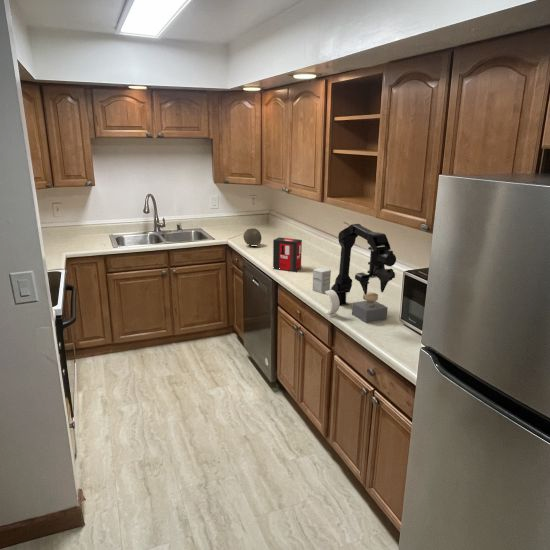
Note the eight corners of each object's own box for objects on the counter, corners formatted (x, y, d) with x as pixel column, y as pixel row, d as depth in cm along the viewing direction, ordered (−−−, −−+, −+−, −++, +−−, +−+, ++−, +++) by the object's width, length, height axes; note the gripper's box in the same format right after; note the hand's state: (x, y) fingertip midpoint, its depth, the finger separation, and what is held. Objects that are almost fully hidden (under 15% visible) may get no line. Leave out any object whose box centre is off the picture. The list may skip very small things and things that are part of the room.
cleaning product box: (273, 269, 299) (273, 239, 293) (278, 266, 306) (278, 237, 301) (295, 272, 292) (296, 242, 286) (300, 269, 300) (301, 239, 294)
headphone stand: (330, 312, 224) (332, 289, 221) (338, 316, 219) (340, 293, 216) (323, 314, 222) (324, 291, 218) (331, 318, 217) (332, 294, 214)
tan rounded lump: (359, 304, 219) (360, 293, 217) (371, 303, 222) (372, 291, 220) (367, 309, 213) (368, 297, 211) (380, 307, 216) (381, 296, 214)
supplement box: (311, 290, 257) (312, 269, 254) (321, 287, 262) (321, 267, 258) (321, 293, 252) (322, 272, 248) (330, 291, 256) (331, 269, 253)
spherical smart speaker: (254, 244, 370) (254, 226, 366) (264, 247, 360) (265, 228, 355) (240, 246, 361) (240, 228, 357) (250, 249, 351) (250, 230, 347)
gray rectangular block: (351, 314, 222) (352, 302, 220) (375, 310, 227) (376, 299, 226) (365, 323, 211) (366, 310, 210) (389, 318, 217) (391, 306, 215)
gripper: (369, 267, 193) (367, 301, 197) (404, 263, 200) (401, 296, 205) (355, 261, 203) (353, 293, 207) (388, 257, 210) (386, 289, 214)
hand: (373, 293), depth 208 cm, fingers open, 9 cm apart
